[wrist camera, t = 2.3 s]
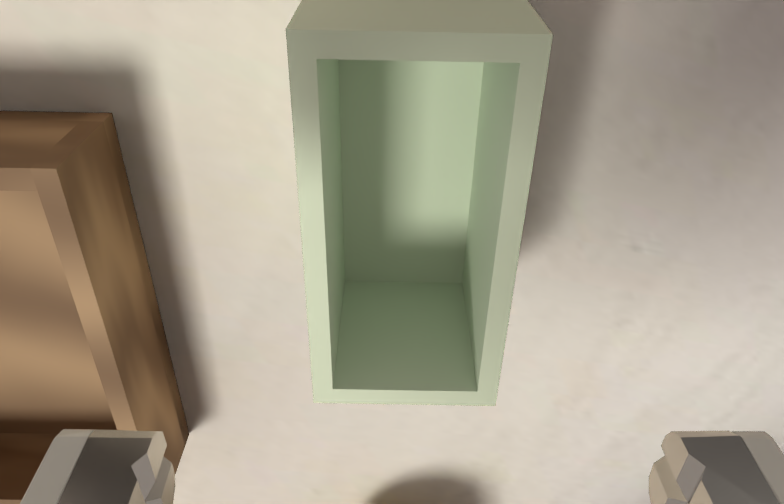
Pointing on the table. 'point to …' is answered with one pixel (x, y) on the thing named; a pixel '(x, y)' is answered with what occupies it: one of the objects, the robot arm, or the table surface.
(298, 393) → the table surface
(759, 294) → the table surface
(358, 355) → the sage crate
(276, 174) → the table surface
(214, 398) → the table surface
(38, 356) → the walnut crate
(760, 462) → the robot arm
